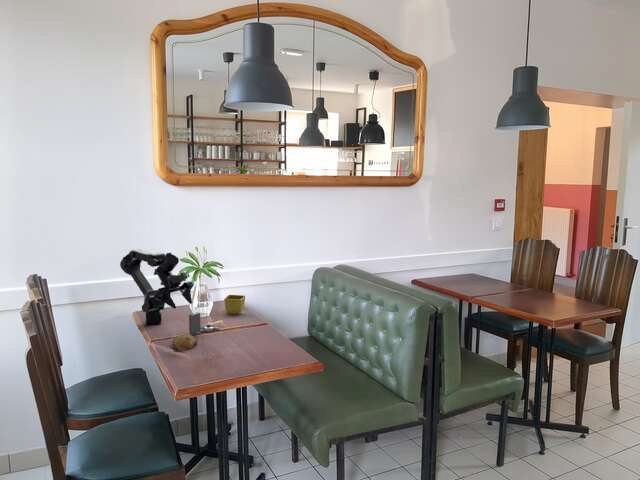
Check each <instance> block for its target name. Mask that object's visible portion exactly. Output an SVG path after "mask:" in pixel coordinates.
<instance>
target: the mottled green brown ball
mask: <svg viewBox="0 0 640 480" xmlns="http://www.w3.org/2000/svg"><path fill="white" fill-rule="evenodd" d="M170 344H171V350H172V352H174V353H183V354H184V353H185V354H186V352H185V351H188V350H192V349H194V348H195V347H196V346H197V344H198V342H197V339H196V337H194V335H190V334H189V333H183V334H178V335H176V336H175V337H173V338H172V340H171V343H170Z"/></svg>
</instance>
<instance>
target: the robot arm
mask: <svg viewBox="0 0 640 480" xmlns="http://www.w3.org/2000/svg"><path fill="white" fill-rule="evenodd" d="M179 261H180V259H179V257H178V256H176V255H174V254H172V252H167V253H166V254H165V253H164V252H156V253H152V252H149V251H145V250H142V249H140V248H139V249H132V250H129V252H128V254H126V255H125V256H123V257H122V259H121V260H120V263H119V266H120V269H121V270H122V271H123V272H124V273H125V274H126V275H129V276H130V277H131V278H132V279H133V281H134V282H135V284H136V285H137V287H138V288H139V290H140V292H141V293H142V294H143V296H144V298H143V304H142V305H141V311H142V312H144V313H145V324H144V325H145V326H158V325H161V323H162V321H163V313H162V312H161V311H163V310H165V305H167V306H169V307H171V308H172V309H177V306H176V304H175V302H174V300H173V299H172V297H171V294H173V293H176V292H180V293H181V295H182V296H183V298H184V299H185V300H186V301H187V303H188V304H189V305H192V304H193V299H192V293H191V290H192V288H193V287H194V283H193V281H191V280H188V281H187V279H188V278H189V277H188V275H187V273H186V272H185V271H183V272H180V273H179V274H173V273H172V272H173V270H174V269H175V268H176V267H177V266H178V264H179ZM142 262H145V263H147V265H149V266H150V267H152V268H153V267H155V268H154V272H153V275H154V276H157V277H158V279H159V280H160V285H161V286H163V287H159V288H158V289H154V288H153V287H152V285H151V284H150V282H149V281H148V279H147V278H146V277H145V275H144V273H143V272H142V271H141V264H142ZM156 267H157V268H156Z"/></svg>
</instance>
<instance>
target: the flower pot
mask: <svg viewBox="0 0 640 480" xmlns="http://www.w3.org/2000/svg"><path fill="white" fill-rule="evenodd" d="M223 300H224V309H225V312H226V313H227V314H233V315H240V314H242V312H243V310H244V307H245V300H246V295H242V294H241V295H239V294H228V295H226V296H225V297H224V299H223Z"/></svg>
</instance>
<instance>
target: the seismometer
mask: <svg viewBox="0 0 640 480" xmlns="http://www.w3.org/2000/svg"><path fill="white" fill-rule="evenodd" d="M223 322H224V320H222V319H221V320H219V321H218V320H217V321H215V322H212V323H210V324H207V323H205V324H203V325H201V312H195V313H190V314H188V328H189V333H188V334H190V335H192V336H195V335H199V334H202V333H210V332H214V331H220V326H215V325H217V324H220V323H223Z"/></svg>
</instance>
